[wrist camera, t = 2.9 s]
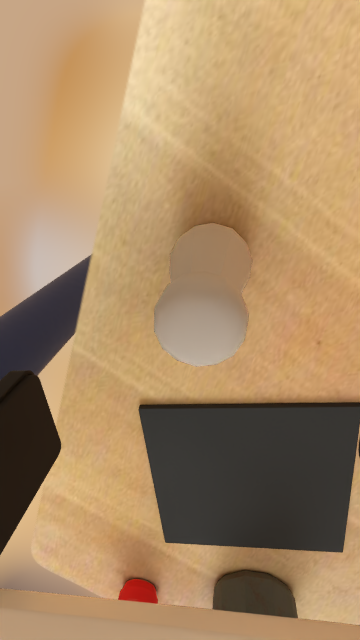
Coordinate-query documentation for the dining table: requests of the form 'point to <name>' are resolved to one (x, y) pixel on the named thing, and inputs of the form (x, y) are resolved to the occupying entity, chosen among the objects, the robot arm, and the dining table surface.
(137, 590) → the beverage can
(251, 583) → the bottle
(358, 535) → the dining table surface
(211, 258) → the salt shaker
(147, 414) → the mat
